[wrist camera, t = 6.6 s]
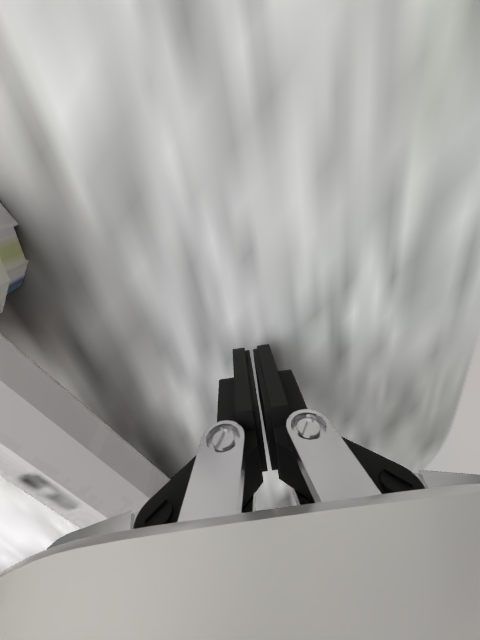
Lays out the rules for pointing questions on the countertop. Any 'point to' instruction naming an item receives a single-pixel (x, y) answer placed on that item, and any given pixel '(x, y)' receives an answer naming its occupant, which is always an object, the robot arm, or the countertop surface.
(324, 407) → the countertop surface
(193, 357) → the countertop surface
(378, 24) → the countertop surface
